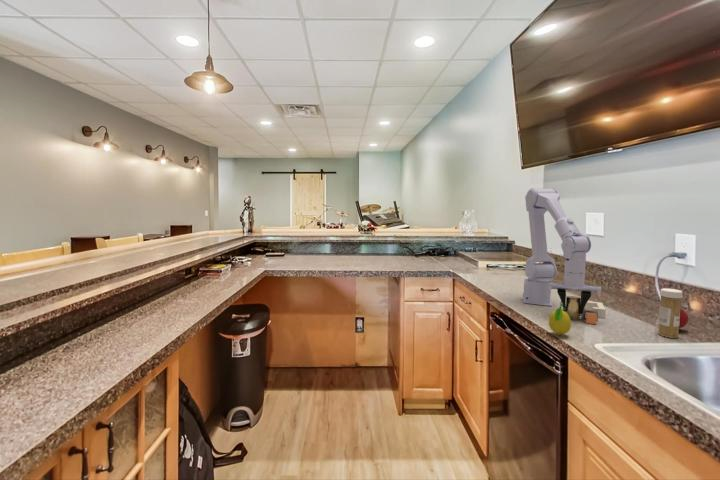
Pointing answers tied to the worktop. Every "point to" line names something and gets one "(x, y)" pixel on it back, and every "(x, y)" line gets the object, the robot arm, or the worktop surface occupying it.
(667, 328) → the sprinkles bottle
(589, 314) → the pin
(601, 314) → the dock
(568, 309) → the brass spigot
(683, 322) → the onion
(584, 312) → the block
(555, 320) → the lemon
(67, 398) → the worktop surface
